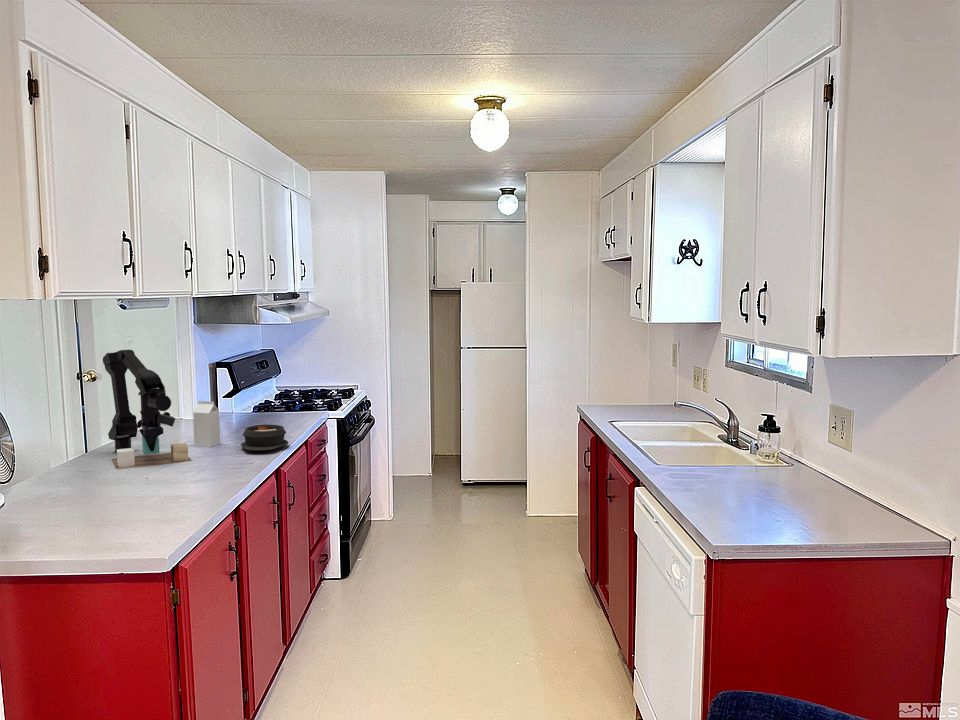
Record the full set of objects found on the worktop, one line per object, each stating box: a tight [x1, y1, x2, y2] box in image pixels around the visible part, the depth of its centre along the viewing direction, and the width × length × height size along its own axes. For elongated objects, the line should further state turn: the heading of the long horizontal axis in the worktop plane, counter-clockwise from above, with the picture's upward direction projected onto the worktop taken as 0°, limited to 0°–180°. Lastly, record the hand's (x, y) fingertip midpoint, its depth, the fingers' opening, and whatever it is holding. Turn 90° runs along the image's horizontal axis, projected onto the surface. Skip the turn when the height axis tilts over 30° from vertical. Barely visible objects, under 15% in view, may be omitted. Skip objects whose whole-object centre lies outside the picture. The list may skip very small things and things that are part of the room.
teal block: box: [141, 436, 161, 455], centre depth 263 cm, size 5×5×6 cm
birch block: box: [170, 442, 189, 461], centre depth 264 cm, size 5×5×6 cm
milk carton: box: [192, 400, 221, 448], centre depth 288 cm, size 7×7×19 cm
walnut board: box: [110, 452, 193, 470], centre depth 263 cm, size 18×25×1 cm
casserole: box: [240, 424, 289, 452], centre depth 290 cm, size 25×19×8 cm
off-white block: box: [116, 447, 135, 468], centre depth 255 cm, size 5×5×6 cm
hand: (151, 449), depth 264 cm, fingers closed on teal block, 5 cm apart
